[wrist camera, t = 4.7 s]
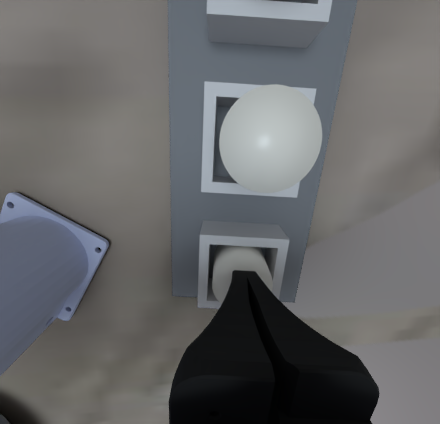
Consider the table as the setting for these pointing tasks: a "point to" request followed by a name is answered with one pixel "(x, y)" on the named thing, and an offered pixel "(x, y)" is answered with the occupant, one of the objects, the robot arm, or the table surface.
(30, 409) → the table surface
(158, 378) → the table surface
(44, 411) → the table surface
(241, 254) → the knob
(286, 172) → the knob mid
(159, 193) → the table surface
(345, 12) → the control panel
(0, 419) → the cereal bowl
